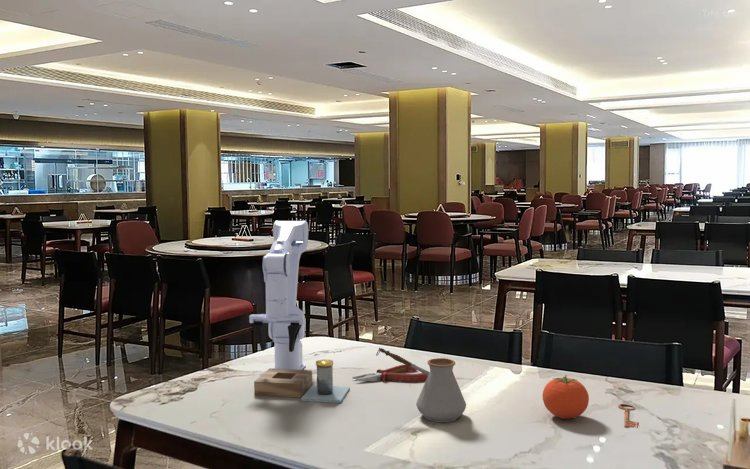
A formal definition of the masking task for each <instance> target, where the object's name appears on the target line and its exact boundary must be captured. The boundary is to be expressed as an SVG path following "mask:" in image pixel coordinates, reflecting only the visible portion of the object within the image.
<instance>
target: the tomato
mask: <svg viewBox="0 0 750 469" xmlns="http://www.w3.org/2000/svg"><path fill="white" fill-rule="evenodd" d="M541 396H542V397H541V398H542V402H543V405H544V407H545V409H547V411H549V413H550V414H552V415H553V416H555V417H558V418H560V419H564V420H566V419H568V420H570V419H574V418H577V417H579V416H581V415H582V414H583V413H584V412H586V410H587V408H588V407H589V401H590V398H589V392H588V390H587V389H586V387H585V386H584V385H583V384H582V382H580V381H578V379H575V378H570V377H567V374H565V376H563V377H555V378H552V379H551V380H550V381H549V382H547V383H546V385H545V386H544V387H543V390H542V394H541Z"/></svg>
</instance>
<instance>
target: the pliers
mask: <svg viewBox="0 0 750 469" xmlns="http://www.w3.org/2000/svg"><path fill="white" fill-rule="evenodd" d="M413 364H414V363H413ZM414 365H416V364H414ZM416 371H417V370H416V369H414V368H412V367H410V366H408V365H405V364H400V365H396V366H392V367H390V368H386V369H380V368H378V369H377V370H376V372H370V373H365V374H361V375H357V376H352V380H353V379H354V381H355V382H377V381H382V380H383V381H382V382H383V383H385V382H399V381H401V382H402V383H421V382H426V379H427V377H428V376H427V375H425V374H424V373H422V372H420V373H419V372H418V373H408V372H416ZM401 372H402V373H401ZM406 372H407V373H406Z"/></svg>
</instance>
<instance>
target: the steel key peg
mask: <svg viewBox="0 0 750 469" xmlns="http://www.w3.org/2000/svg"><path fill="white" fill-rule="evenodd" d="M333 365H334V360H332V359H319V360H316V361H315V366H316V385H317V394H319V395H329V394H332V393H333V386H334V383H333V382H334V378H333V374H334V372H333V369H334V368H333Z"/></svg>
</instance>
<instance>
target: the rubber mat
mask: <svg viewBox="0 0 750 469" xmlns="http://www.w3.org/2000/svg"><path fill="white" fill-rule="evenodd" d="M309 387H310V388H308V389H307V390H306V391H305V392H304V395H302V396H301V397H300V398H301V399H300V401H301V402H312V403H313V402H315V403H334V404H341V403H342V401H343V400H344V399H345V397H346V396H347V395H348V393H349V391H350V389H351V387H350V386H339V385H338V386H337V385H333V393H332V394H329V395H319V394H317V384H311V385H310V386H309Z"/></svg>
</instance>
